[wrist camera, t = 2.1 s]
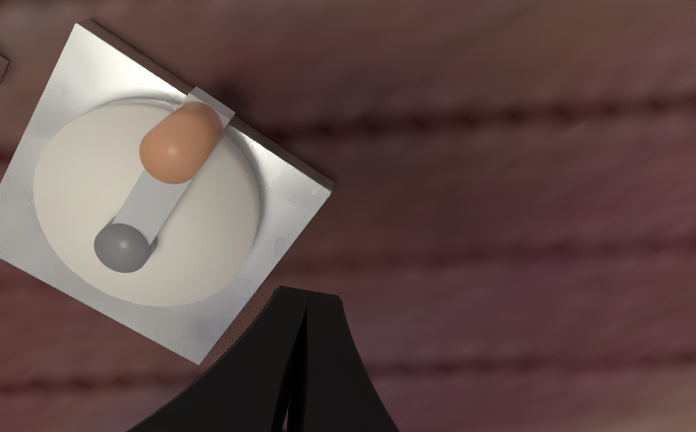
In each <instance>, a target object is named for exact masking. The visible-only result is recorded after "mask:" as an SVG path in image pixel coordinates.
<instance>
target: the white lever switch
mask: <svg viewBox="0 0 696 432" xmlns="http://www.w3.org/2000/svg"><path fill="white" fill-rule="evenodd" d="M235 113H236V112H234V111H233V110H231V109H230V108H228V107H227V106H225V105H224V104H222V103H221V102H219V101H218V100H216V99H215V98H213V97H212V96H210V95H209V94H207V93H206V92H204V91H203V90H201V89H200V88H198V87H197V86H196V87H195V88H194V89H193V90H192V91H190V92H189V94H188V95H187V97H186V99H185V100H184V102H183V103H182V104H181V105H177V104H174V103H170V102H167V101H162V100H156V99H150V98H130V99H121V100H116V101H112V102H108V103H105V104H103V105H100V106H98V107H95V108H94V109H92V110H90V111H89V112H87V113H85V114H83V115H82V116H80V117H78V118H77V119H75V120H73V121H72V122H70V123H68V124H67V125H66V126H64V127H63V128H62V129H61V130H60V131H58V132H57V133H56V134H55V135H54V137H53V138H52V139H51V140H50V141H49V142H48V144H47V145H46V147H45V149H44V150H43V152H42V154H41V156H40V159H39V161H38V164H37V166H36V171H35V176H34V186H33V195H34V205H35V209H36V213H37V218H38V220H39V223H40V226H41V228H42V231H43V233H44V234H45V236H46V238H47V240H48V242H49V244H50V245H51V246H52V248H53V249H54V251H55V252H56V254H57V255H58V256H59V257H60V258H61V260H62V261H63V262H64V263H65V264H66V265H67V266H68V267H69V268H70V269H71V270H72V271H73V272H74V273H75V274H77V275H78V276H79V277H81V278H82V279H83V280H84V281H86V282H87V283H89V284H90V285H92V286H94V287H95V288H97V289H98V290H100V291H102V292H104V293H106V294H109V295H111V296H113V297H116V298H118V299H121V300H124V301H127V302H131V303H135V304H140V305H146V306H157V307H169V306H180V305H185V304H190V303H193V302H197V301H200V300H202V299H205V298H207V297H209V296H211V295H213V294H215V293H216V292H218V291H219V290H221V289H222V288H224V287H225V286H226V285H227V284H228V283H229V282H231V281H232V280H233V278H234V277H235V276H236V275H237V274H238V273H239V271H240V270H241V268H242V267H243V265H244V263H245V262H246V260H247V257H248V255H249V253H250V250H251V248H252V245H253V242H254V240H255V237H256V234H257V230H258V226H259V221H260V197H259V191H258V186H257V183H256V180H255V177H254V174H253V172H252V170H251V168H250V166H249V164H248V162H247V160H246V159H245V157H244V155H243V154H242V152H241V151H240V149H239V148H238V147H237V146H236V145H235V143H234V142H233V141H232V140H231V139H230V138H229V137H228V136H227V135H226V132H227V130H228V127H229V122H230V120H231V119H232V117H233V116H234V114H235Z"/></svg>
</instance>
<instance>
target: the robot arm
mask: <svg viewBox="0 0 696 432" xmlns="http://www.w3.org/2000/svg"><path fill="white" fill-rule="evenodd" d="M308 295H309V297H308ZM292 383H293V384H292ZM291 389H292V390H291ZM290 394H291V396H290ZM289 399H290V401H289ZM288 405H289V407H288ZM287 410H288V419H287V432H399V430H398V428H397V427H396V425H395V424H394V422H393V420H392V419H391V417H390V416H389V414H388V412H387V410H386V409H385V407H384V405H383V403H382V402H381V400H380V398H379V396H378V394H377V392H376V390H375V388H374V386H373V384H372V382H371V380H370V378H369V376H368V374H367V372H366V370H365V368H364V365H363V363H362V361H361V358H360V356H359V353H358V351H357V349H356V346H355V344H354V341H353V338H352V336H351V333H350V330H349V327H348V324H347V320H346V317H345V313H344V309H343V304H342V300H341V299H340V298H339V296H337V295H331V294H325V293H320V292H314V291H308V290H302V289H297V288H291V287H285V286H280V287H278V288H276V289H275V290H274V292H273V294H272V296H271V297H270V299H269V300H268V302H267V304H266V305H265V306H264V308H263V309H262V311H261V312H260V313H259V314H258V316H257V317H256V318H255V320H254V321H253V322H252V323H251V324H250V326H249V327H248V328H247V329H246V330H245V332H244V333H243V334H242V335H241V336H240V337H239V339H238V340H237V341H236V342H235V343H234V344H233V345H232V346H231V347H230V348H229V349H228V350H227V351H226V352H225V353H224V354H223V355H222V356H221V357H220V358H219V359H218V360H217V361H216V362H215V363H214V364H213V365H212V366H211V367H210V368H209V369H208V370H207V371H206V372H205V373H203V374H202V375H201V376H200V377H199V378H198V379H197V380H196V381H194V382H193V383H192V384H191V385H190V386H188V387H187V388H186V389H185V390H184V391H182V392H181V393H180V394H179V395H177V396H176V397H175V398H173V399H172V400H171V401H169V402H168V403H167V404H165V405H164V406H163V407H161V408H160V409H159V410H157V411H156V412H155V413H153V414H152V415H150V416H149V417H147V418H146V419H145V420H143V421H142V422H140V423H139V424H137V425H136V426H134V427H133V428H131V429H129V430H128V431H126V432H281V431H282V427H283V424H284V420H285V417H286V413H287Z"/></svg>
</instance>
